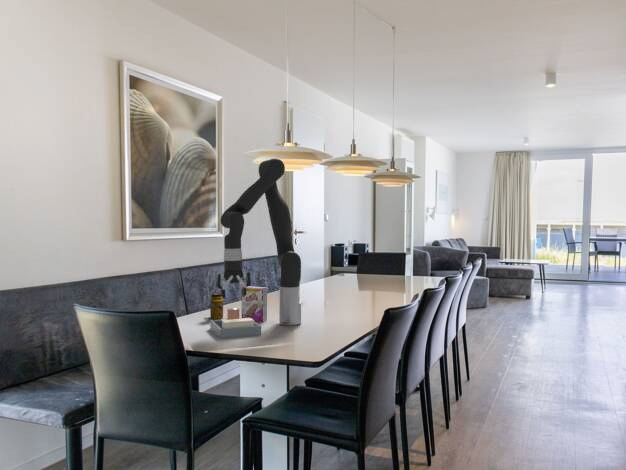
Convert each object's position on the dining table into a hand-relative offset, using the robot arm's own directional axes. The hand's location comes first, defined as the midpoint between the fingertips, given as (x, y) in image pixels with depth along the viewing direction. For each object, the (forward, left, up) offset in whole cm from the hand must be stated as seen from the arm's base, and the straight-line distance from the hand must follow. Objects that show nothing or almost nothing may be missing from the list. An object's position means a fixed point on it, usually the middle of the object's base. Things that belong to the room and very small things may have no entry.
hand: (233, 297), depth 215 cm
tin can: (0, 0, -14) cm, 14 cm away
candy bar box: (-14, -16, -15) cm, 26 cm away
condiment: (+1, -31, -15) cm, 35 cm away
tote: (0, +3, -15) cm, 15 cm away
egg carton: (0, +7, -14) cm, 16 cm away
